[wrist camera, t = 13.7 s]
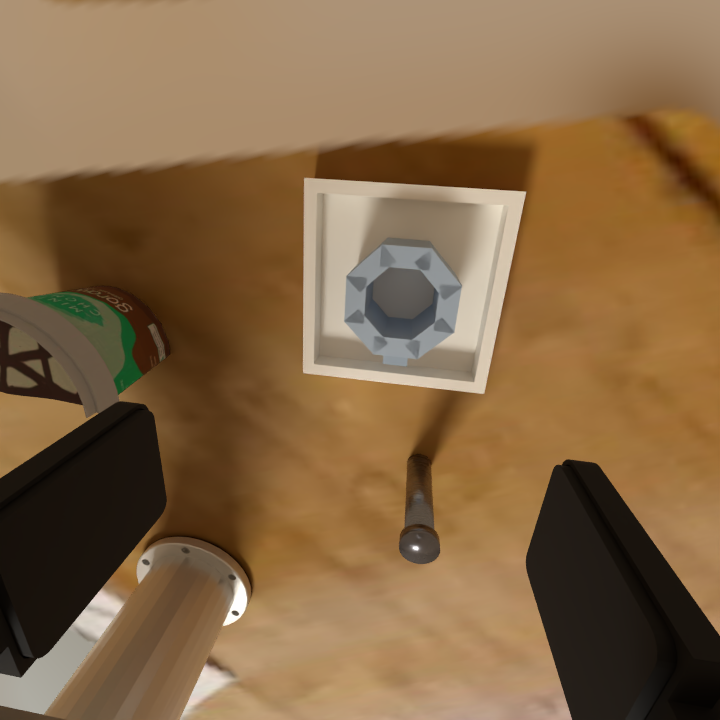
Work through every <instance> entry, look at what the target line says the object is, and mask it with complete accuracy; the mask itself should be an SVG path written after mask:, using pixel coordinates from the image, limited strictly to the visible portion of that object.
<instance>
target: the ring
mask: <svg viewBox="0 0 720 720" xmlns="http://www.w3.org/2000/svg"><path fill="white" fill-rule="evenodd" d="M389 267H394V268H406V269H417V270H421V272H422V273H423V274H424V275H425V276H426V278H427V279H428V280H429V281H430V283H431V284H432V285H433V286H434V295H433V303H432V305H430V306H429V307H428V308H426V309H425V310H424V311H423V312H421V313H420V314H419V315H417V316H416V317H415V318H414V319H405V318H395V317H388V316H387V315H386V314H385V313H384V311H383V310H382V309H381V308H380V307H379V306H378V304H377V303H376V302H375V301H374V300H373V299H372V297H373V283H374V280H375V279H376V278H377V277H378V276H379V275H381V274H382V273H383V272H384V271H385V270H386V269H388V268H389ZM461 289H462V285H461V283H460V281H459V279H458V278H457V276H456V274H455V273H454V271H453V270H452V269H451V268H450V266H449V265H448V264H447V262H446V261H445V260H444V259H443V257H442V256H441V255H440V254H439V252H438V251H437V250H436V248H435V247H434V246H433V245H432V243H431V242H430V241H426V240H413V239H400V238H389V237H388V238H387V239H386V240H385V241H384V242H382V243H381V244H380V245H379V246H378V247H377V248H376V249H375V250H373V251H372V252H371V253H370V254H369V255H368V256H367V257H366V258H365V259H363V260H362V261H361V262H360V263H359V264H357V265H356V266H355V267H354V268H353V269H352V271H351V272H350V273H349V274H348V275H347V276H346V295H345V316H344V322H345V323H346V324H347V325H348V326H349V327H350V329H351V330H352V331H353V332H354V333H355V334H356V335H357V336H358V338H359V339H360V340H361V341H362V342H363V343H364V344H365V345H366V347H367V348H368V349H369V350H370V351H371V352H372V353H373V354H374V355H383V364H388V365H397V366H406V367H407V361H408V358H411V359H418V358H420V357H421V356H423V355H424V354H425V353H427V352H428V351H430V350H431V349H432V348H434V347H435V346H436V345H438V344H439V343H441V342H442V341H443V340H445V339H446V338H447V337H449V336H450V335H452V334H453V333H454V332H455V325H456V319H457V313H458V307H459V301H460V295H461Z"/></svg>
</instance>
